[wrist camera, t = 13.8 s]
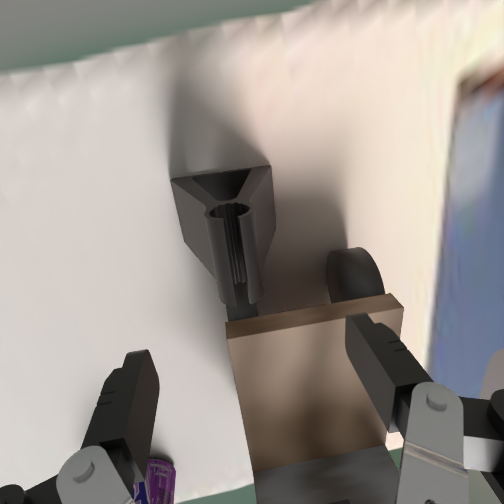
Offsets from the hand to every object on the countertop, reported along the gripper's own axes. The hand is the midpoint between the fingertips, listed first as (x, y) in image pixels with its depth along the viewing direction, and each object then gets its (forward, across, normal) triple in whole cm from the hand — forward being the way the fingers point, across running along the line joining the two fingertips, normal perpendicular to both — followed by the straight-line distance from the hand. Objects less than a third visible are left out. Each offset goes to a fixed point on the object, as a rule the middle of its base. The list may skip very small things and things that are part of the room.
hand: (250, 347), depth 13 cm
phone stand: (+19, 0, 0) cm, 19 cm away
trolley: (+19, -5, +17) cm, 26 cm away
